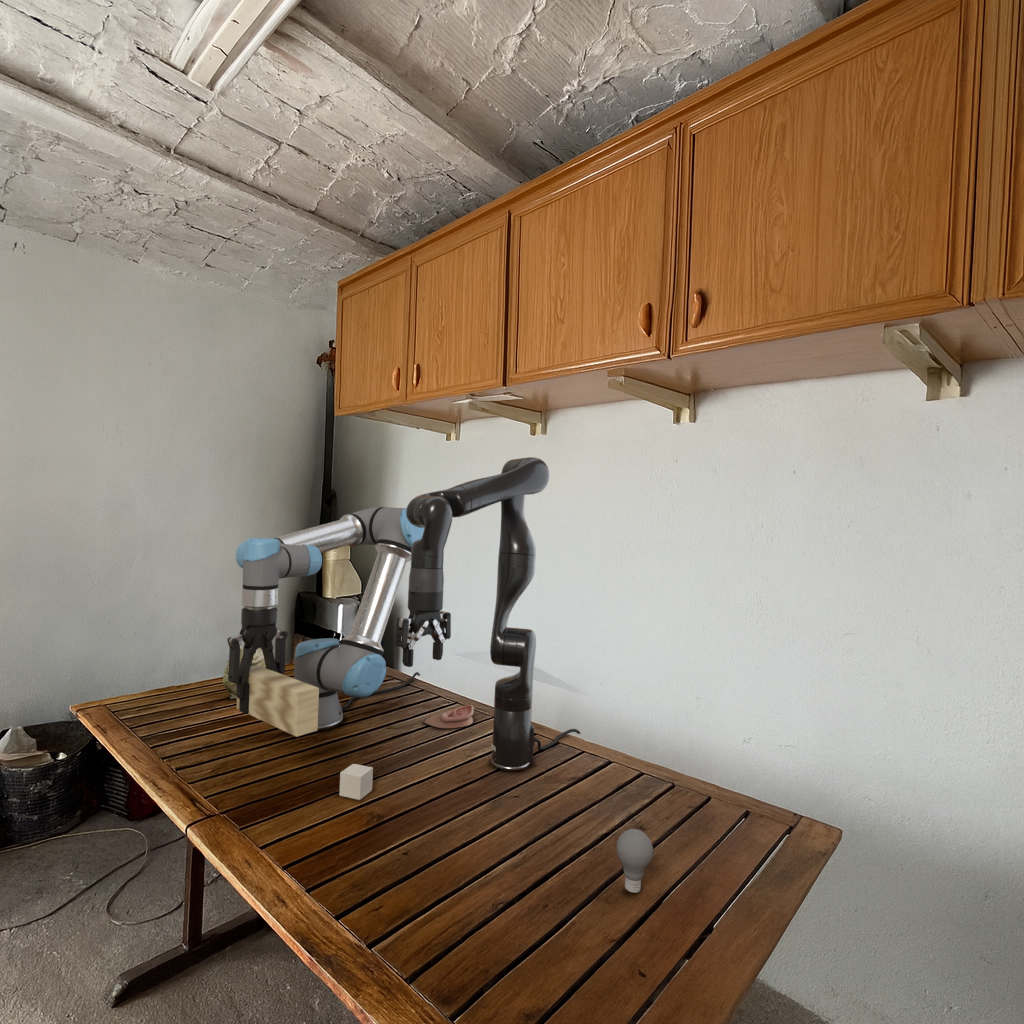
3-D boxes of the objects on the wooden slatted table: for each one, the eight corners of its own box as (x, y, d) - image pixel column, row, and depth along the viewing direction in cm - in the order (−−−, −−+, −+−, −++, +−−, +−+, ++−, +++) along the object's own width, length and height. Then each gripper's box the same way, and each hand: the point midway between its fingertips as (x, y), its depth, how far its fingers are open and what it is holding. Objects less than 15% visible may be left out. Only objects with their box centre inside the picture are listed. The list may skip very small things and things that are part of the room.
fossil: (218, 695, 195) (220, 647, 195) (278, 685, 208) (279, 640, 207) (228, 703, 189) (230, 653, 188) (289, 692, 201) (290, 645, 201)
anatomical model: (421, 711, 177) (434, 699, 188) (420, 725, 177) (433, 712, 188) (466, 717, 174) (477, 704, 186) (466, 731, 174) (476, 717, 186)
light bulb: (610, 879, 108) (613, 822, 108) (644, 879, 109) (647, 822, 109) (619, 902, 102) (622, 840, 102) (655, 901, 103) (658, 840, 103)
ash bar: (236, 708, 144) (237, 669, 144) (257, 703, 148) (258, 665, 147) (296, 736, 129) (297, 693, 129) (317, 730, 133) (319, 687, 132)
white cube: (352, 785, 139) (353, 763, 139) (372, 790, 138) (373, 767, 138) (339, 795, 135) (340, 772, 135) (359, 800, 133) (360, 776, 133)
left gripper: (286, 600, 152) (283, 696, 153) (211, 608, 138) (208, 714, 138) (304, 604, 147) (300, 704, 148) (229, 613, 133) (225, 723, 134)
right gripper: (437, 583, 145) (434, 654, 145) (389, 588, 134) (385, 665, 134) (461, 587, 140) (458, 660, 140) (413, 593, 129) (409, 672, 129)
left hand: (256, 708), depth 143 cm, fingers closed on ash bar, 5 cm apart
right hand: (422, 662), depth 137 cm, fingers open, 8 cm apart
